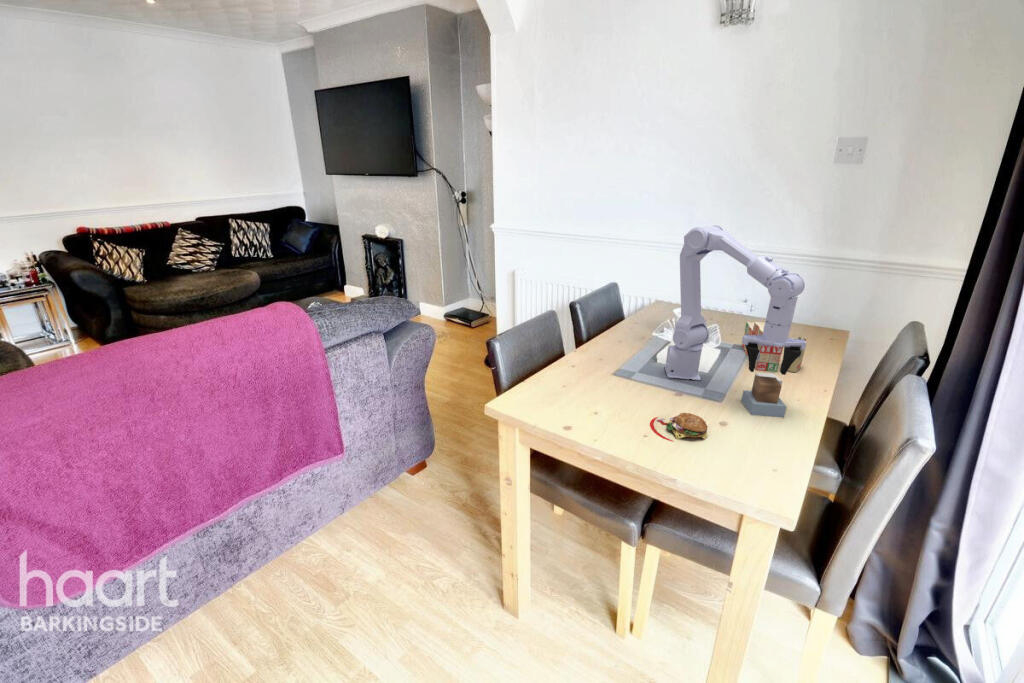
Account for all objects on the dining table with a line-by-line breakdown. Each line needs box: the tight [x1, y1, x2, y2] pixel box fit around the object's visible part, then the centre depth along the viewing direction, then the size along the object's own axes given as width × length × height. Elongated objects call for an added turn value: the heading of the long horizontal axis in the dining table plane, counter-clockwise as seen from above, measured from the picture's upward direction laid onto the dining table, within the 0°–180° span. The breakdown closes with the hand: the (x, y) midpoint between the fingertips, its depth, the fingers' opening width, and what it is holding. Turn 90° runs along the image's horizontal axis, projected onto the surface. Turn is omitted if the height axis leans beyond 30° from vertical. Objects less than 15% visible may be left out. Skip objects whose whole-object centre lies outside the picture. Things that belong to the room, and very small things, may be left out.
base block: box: [740, 389, 788, 418], centre depth 126 cm, size 8×8×4 cm
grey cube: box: [751, 372, 783, 389], centre depth 135 cm, size 5×5×5 cm
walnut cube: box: [751, 375, 782, 404], centre depth 125 cm, size 5×5×5 cm
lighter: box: [787, 336, 807, 373], centre depth 150 cm, size 7×4×10 cm, turn 137°
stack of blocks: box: [741, 321, 784, 373], centre depth 157 cm, size 21×6×12 cm, turn 167°
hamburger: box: [649, 412, 709, 442], centre depth 116 cm, size 14×14×6 cm
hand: (766, 371), depth 125 cm, fingers open, 7 cm apart
